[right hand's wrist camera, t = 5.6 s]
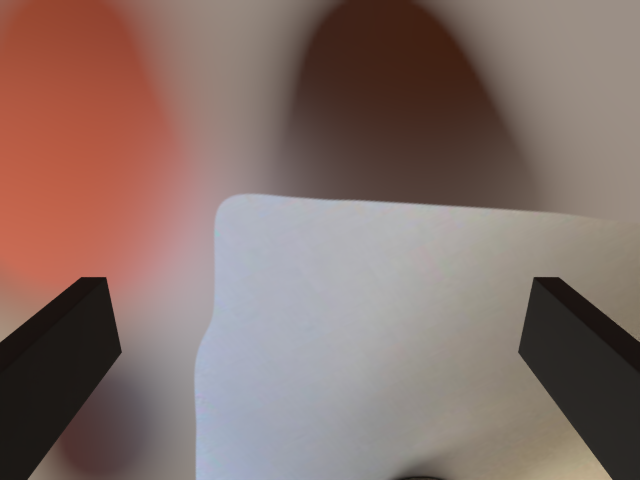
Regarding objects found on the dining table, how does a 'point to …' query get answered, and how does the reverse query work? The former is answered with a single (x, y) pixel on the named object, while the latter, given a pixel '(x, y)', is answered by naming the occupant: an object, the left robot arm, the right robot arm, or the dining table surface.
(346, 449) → the dining table surface
